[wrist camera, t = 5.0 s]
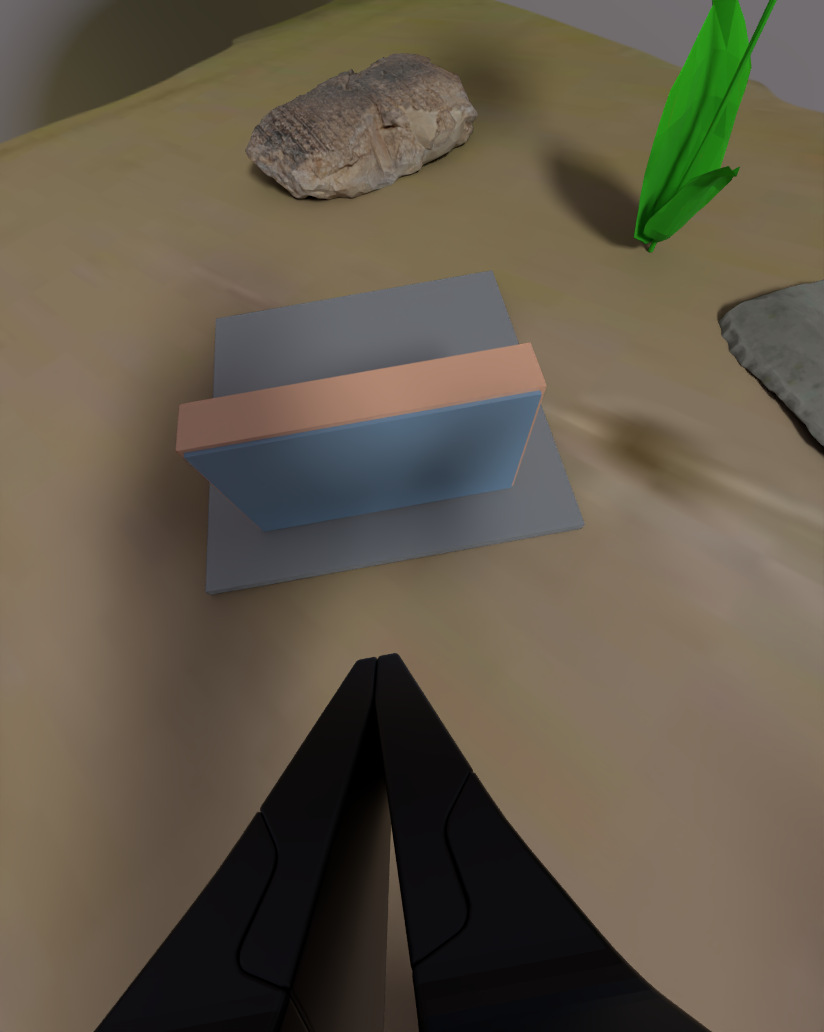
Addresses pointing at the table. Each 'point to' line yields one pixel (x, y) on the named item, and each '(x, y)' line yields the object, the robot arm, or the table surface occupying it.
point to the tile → (367, 437)
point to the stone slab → (784, 347)
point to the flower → (697, 125)
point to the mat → (358, 348)
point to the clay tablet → (363, 128)
